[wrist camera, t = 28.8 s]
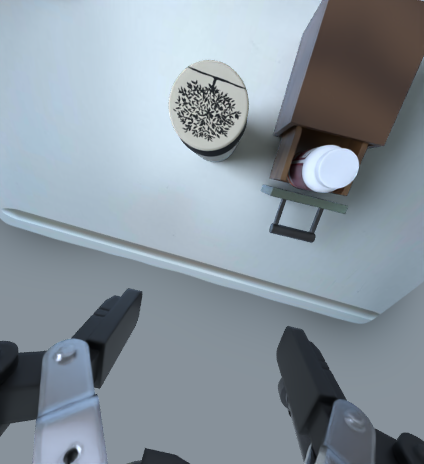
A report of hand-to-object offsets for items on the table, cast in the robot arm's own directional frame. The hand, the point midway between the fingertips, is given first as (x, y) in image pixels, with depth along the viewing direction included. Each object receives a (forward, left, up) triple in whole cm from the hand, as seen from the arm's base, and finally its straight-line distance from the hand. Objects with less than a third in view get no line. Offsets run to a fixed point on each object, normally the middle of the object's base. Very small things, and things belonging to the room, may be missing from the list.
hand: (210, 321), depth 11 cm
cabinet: (-12, -23, -30) cm, 40 cm away
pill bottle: (-12, -11, -28) cm, 33 cm away
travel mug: (+4, -13, -30) cm, 33 cm away
